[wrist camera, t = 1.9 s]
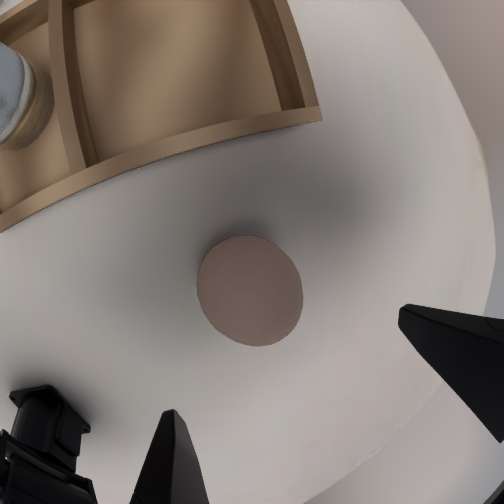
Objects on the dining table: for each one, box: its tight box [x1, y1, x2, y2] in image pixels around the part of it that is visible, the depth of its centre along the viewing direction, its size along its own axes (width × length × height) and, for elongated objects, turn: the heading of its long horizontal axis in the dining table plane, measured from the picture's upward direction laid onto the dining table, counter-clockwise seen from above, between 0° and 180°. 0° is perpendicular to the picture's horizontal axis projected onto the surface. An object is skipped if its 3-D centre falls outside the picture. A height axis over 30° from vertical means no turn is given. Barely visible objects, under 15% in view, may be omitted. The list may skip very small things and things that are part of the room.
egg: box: [197, 235, 303, 346], centre depth 14 cm, size 5×5×7 cm
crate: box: [0, 0, 322, 233], centre depth 10 cm, size 20×13×4 cm, turn 104°
